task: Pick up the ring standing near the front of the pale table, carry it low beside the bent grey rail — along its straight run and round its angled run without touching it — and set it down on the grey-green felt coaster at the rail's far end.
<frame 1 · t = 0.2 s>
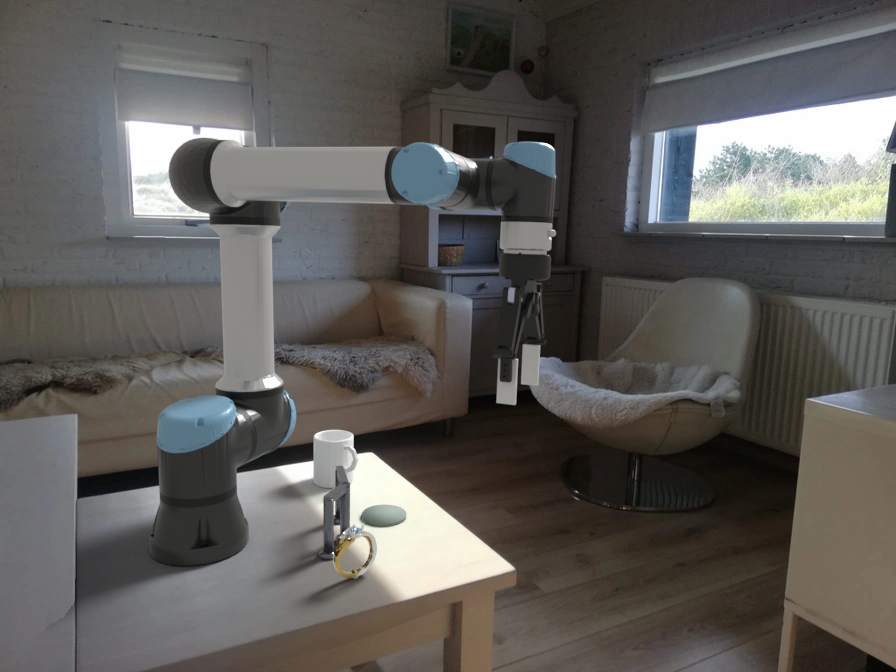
hand: (518, 393, 99), 27 cm above the table, fingers open, 13 cm apart
mug: (339, 484, 133), on the table
felt coaster: (384, 516, 118), on the table
bent grey rail: (344, 540, 109), on the table
ring: (355, 578, 97), on the table
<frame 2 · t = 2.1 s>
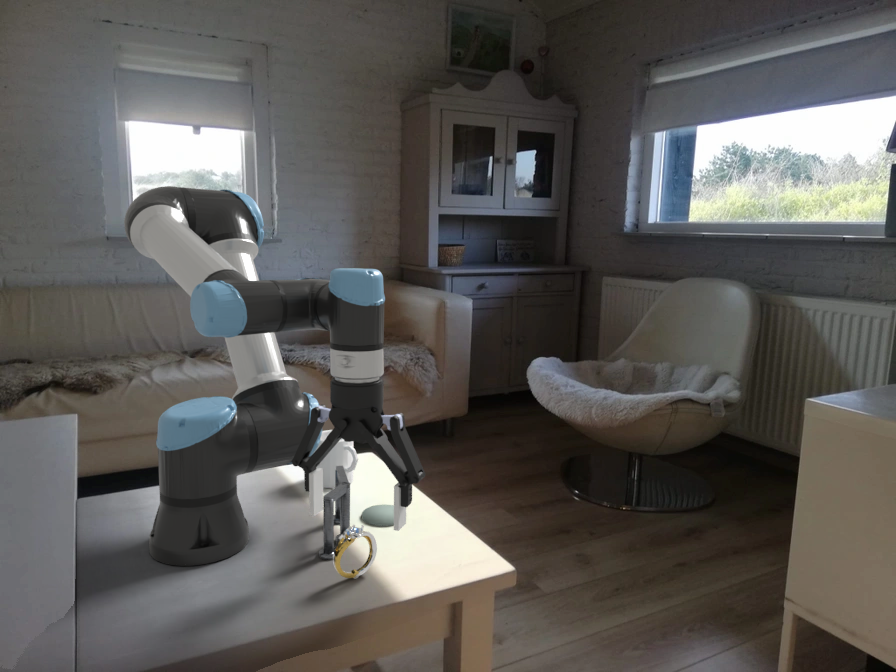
hand: (357, 519, 95), 9 cm above the table, fingers open, 13 cm apart
nothing on the table moved.
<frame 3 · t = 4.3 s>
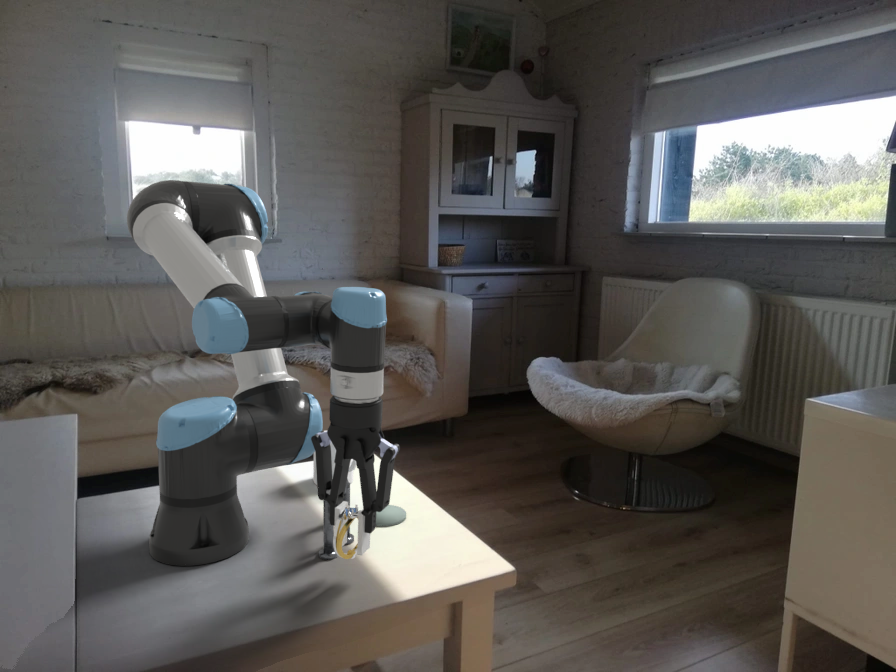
hand: (351, 547, 97), 4 cm above the table, fingers closed on ring, 3 cm apart
ring: (351, 558, 97), point 3 cm above the table, touching gripper
everything else where it was.
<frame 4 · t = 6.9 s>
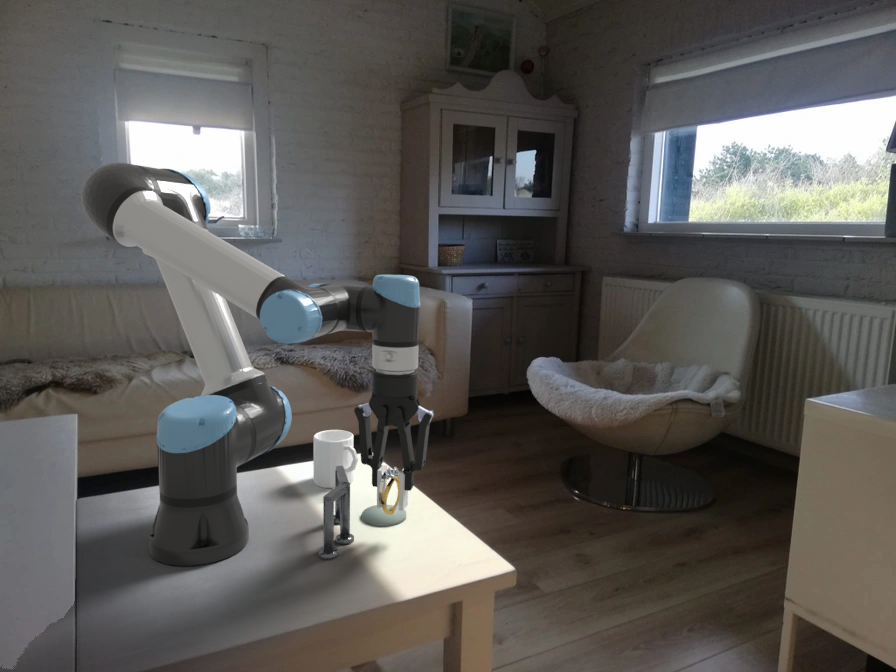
hand: (392, 505, 110), 5 cm above the table, fingers closed on ring, 3 cm apart
ring: (392, 515, 109), point 4 cm above the table, touching gripper
everything else where it was.
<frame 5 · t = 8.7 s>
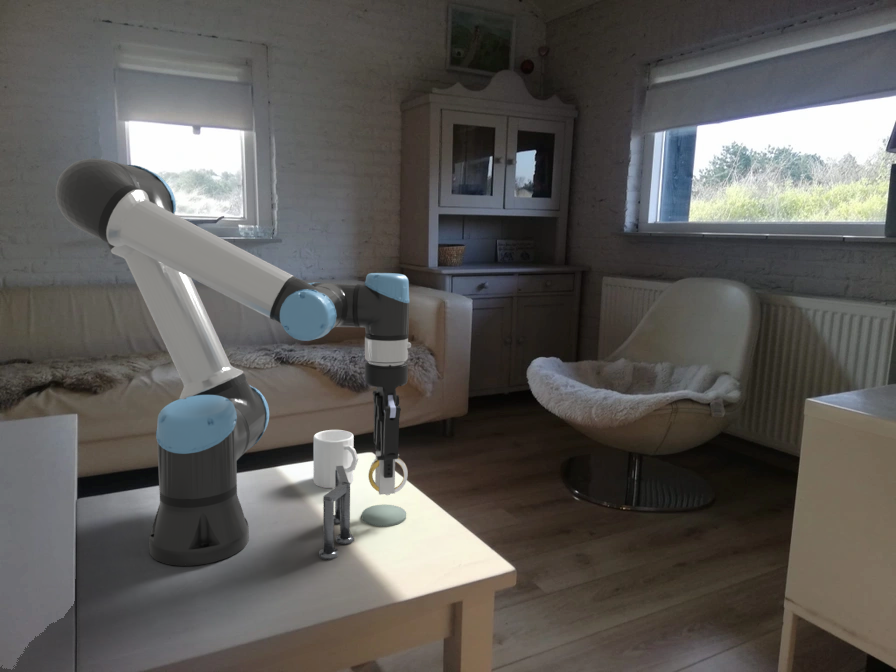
hand: (384, 488, 118), 5 cm above the table, fingers closed on ring, 3 cm apart
ring: (387, 495, 118), point 4 cm above the table, touching gripper
everything else where it was.
when the fingers open (2 cm above the table, at t = 9.4 s): ring stays where it is, resting on felt coaster.
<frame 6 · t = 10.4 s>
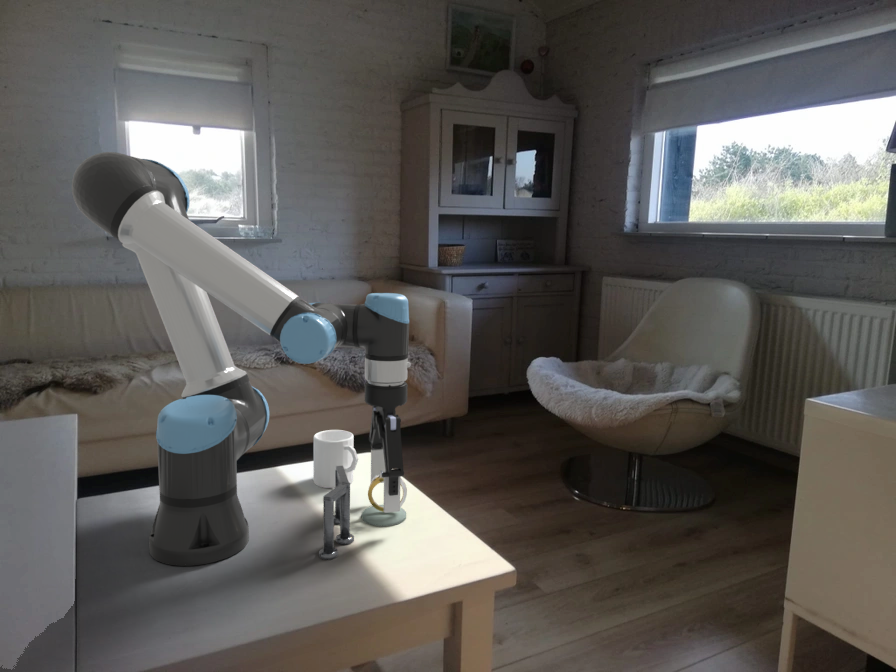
hand: (384, 496, 118), 4 cm above the table, fingers open, 13 cm apart
ring: (387, 513, 119), resting on felt coaster
everything else where it was.
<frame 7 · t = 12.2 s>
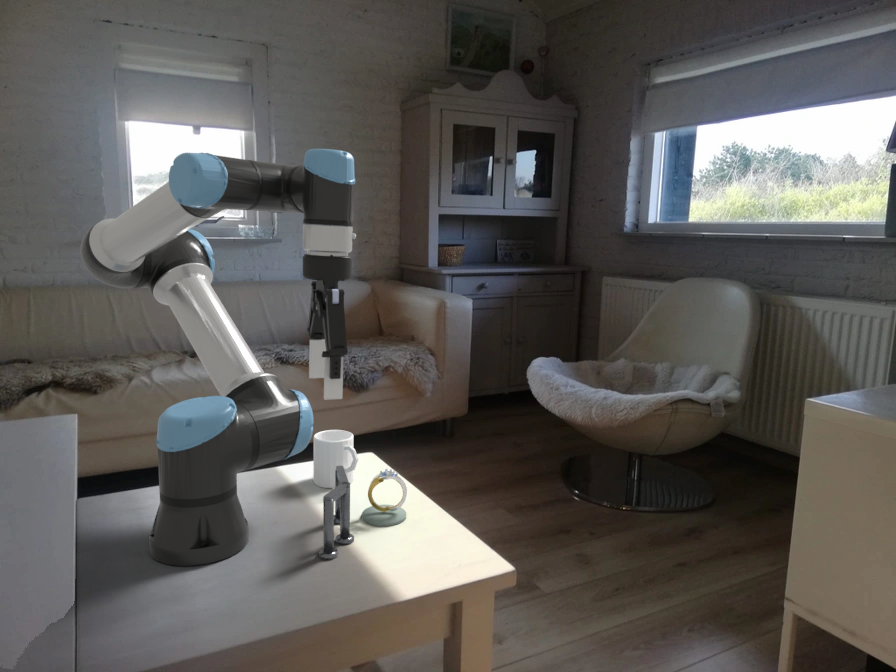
hand: (324, 387, 104), 26 cm above the table, fingers open, 13 cm apart
nothing on the table moved.
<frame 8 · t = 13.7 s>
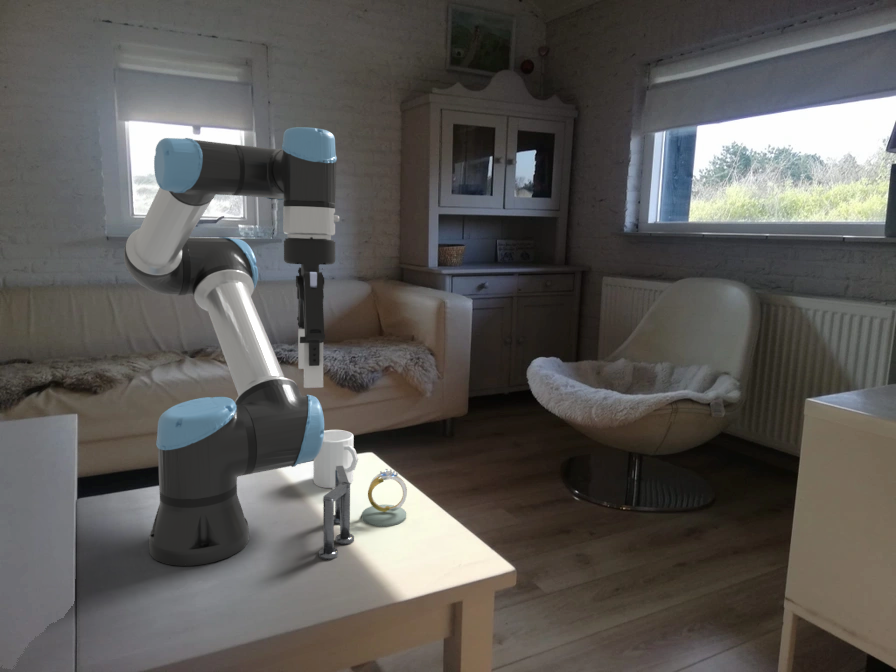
hand: (310, 377, 100), 29 cm above the table, fingers open, 13 cm apart
nothing on the table moved.
at the end: ring 0.6 cm from the felt coaster (horizontally); ring touching felt coaster; the gripper is holding nothing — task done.
